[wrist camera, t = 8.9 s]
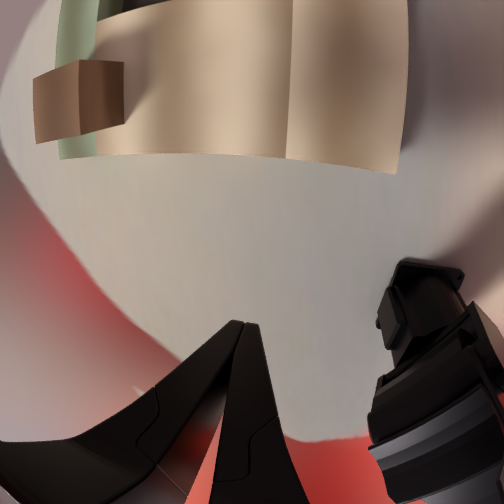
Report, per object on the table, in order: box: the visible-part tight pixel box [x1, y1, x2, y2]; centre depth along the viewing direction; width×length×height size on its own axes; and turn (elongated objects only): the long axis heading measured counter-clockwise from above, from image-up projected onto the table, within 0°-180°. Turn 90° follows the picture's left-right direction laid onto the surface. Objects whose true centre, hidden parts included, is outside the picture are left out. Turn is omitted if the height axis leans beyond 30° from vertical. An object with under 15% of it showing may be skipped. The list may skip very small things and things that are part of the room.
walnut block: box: [33, 60, 125, 144], centre depth 12 cm, size 4×4×4 cm
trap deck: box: [55, 0, 409, 175], centre depth 12 cm, size 22×16×3 cm
